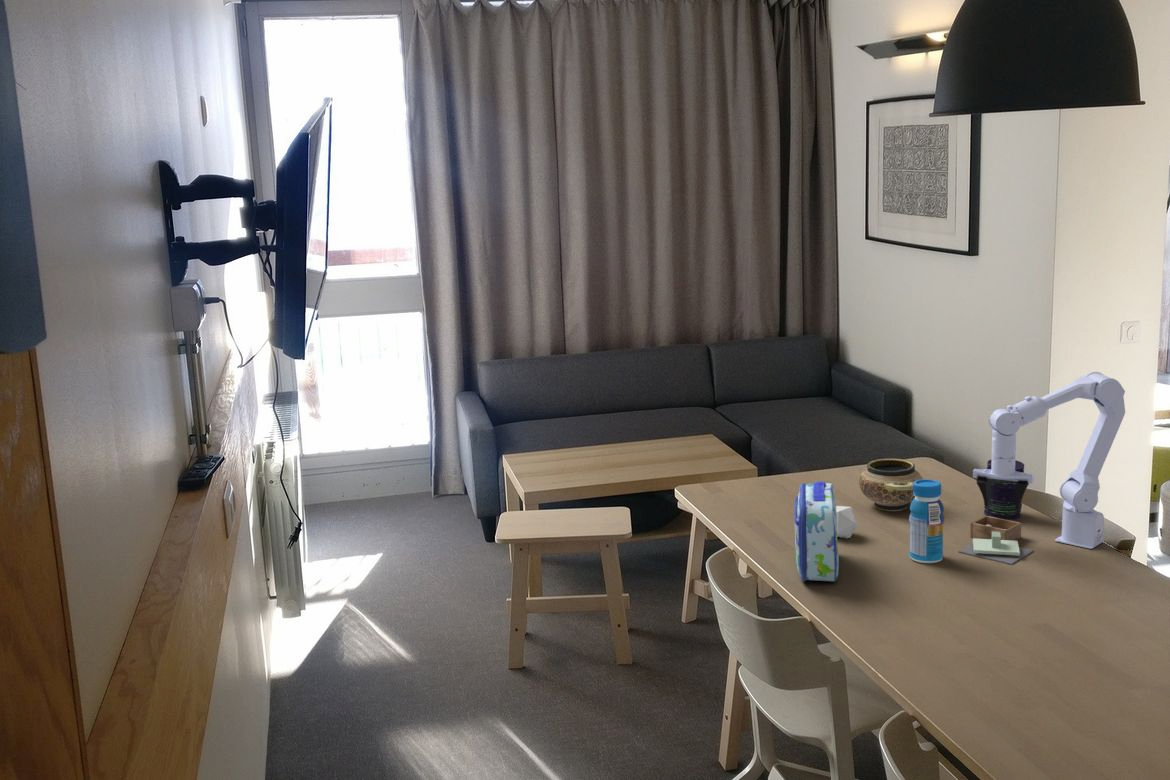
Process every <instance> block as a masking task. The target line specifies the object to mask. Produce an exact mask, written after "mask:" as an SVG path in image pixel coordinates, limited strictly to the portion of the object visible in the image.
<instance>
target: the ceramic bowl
mask: <svg viewBox="0 0 1170 780" xmlns="http://www.w3.org/2000/svg"><path fill="white" fill-rule="evenodd" d="M915 466H916V465H915V463H914V462H913V461H912V460H911V461H910V460H908V459H903V458H878V459H873V460H871V461H868V462H867V464H866V469H865V470H863V471H862V472H861V474H860V475H859V478H858V486H859V488H860V491H861V493H862V494H863V495H864V496H865V497H866V499H868V500H870V501H871V502H872V503H873V506H874V508H876V509H878V510H880V511H884V510H885V511H886V512H900V511H904V510H906V509H907V508H908V504H909V503H912V501H913V499H914V498H915V496H914V494H913V483H914V482H915V481H917V480H922V479H924V478H923V476H922V475H921V473H920V472H919V471H918V470H917V469H916V468H915Z"/></svg>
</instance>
